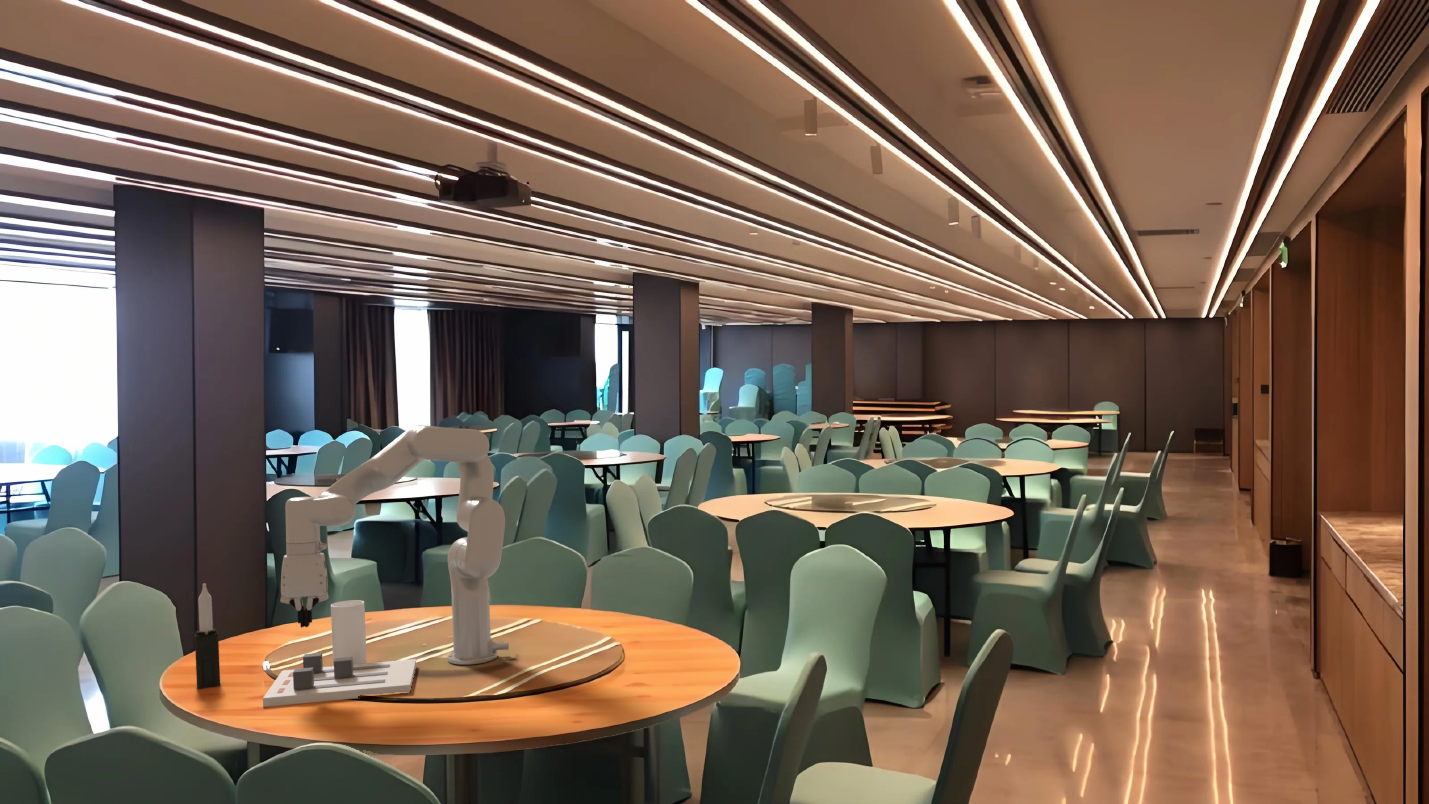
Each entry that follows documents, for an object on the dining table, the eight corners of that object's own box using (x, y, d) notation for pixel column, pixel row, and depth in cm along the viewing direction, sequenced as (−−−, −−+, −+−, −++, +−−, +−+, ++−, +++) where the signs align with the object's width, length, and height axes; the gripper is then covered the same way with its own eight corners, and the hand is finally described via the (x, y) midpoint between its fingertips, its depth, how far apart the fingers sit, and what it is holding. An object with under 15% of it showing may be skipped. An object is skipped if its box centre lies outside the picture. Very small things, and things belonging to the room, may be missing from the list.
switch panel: (416, 666, 267) (415, 641, 267) (410, 693, 244) (409, 665, 243) (282, 678, 260) (281, 652, 260) (263, 706, 237) (262, 678, 236)
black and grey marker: (197, 689, 253) (192, 586, 252) (196, 684, 257) (192, 582, 257) (220, 685, 255) (216, 583, 255) (219, 681, 260) (215, 580, 259)
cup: (355, 669, 266) (353, 606, 266) (326, 668, 268) (324, 606, 268) (372, 661, 274) (370, 600, 274) (344, 660, 276) (341, 599, 276)
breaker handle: (353, 673, 254) (352, 656, 254) (352, 676, 251) (351, 659, 251) (336, 674, 253) (335, 658, 253) (334, 678, 250) (333, 661, 250)
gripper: (338, 545, 255) (340, 620, 255) (272, 548, 251) (274, 624, 252) (334, 549, 247) (336, 627, 248) (266, 553, 244) (268, 631, 244)
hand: (305, 625), depth 250 cm, fingers closed
